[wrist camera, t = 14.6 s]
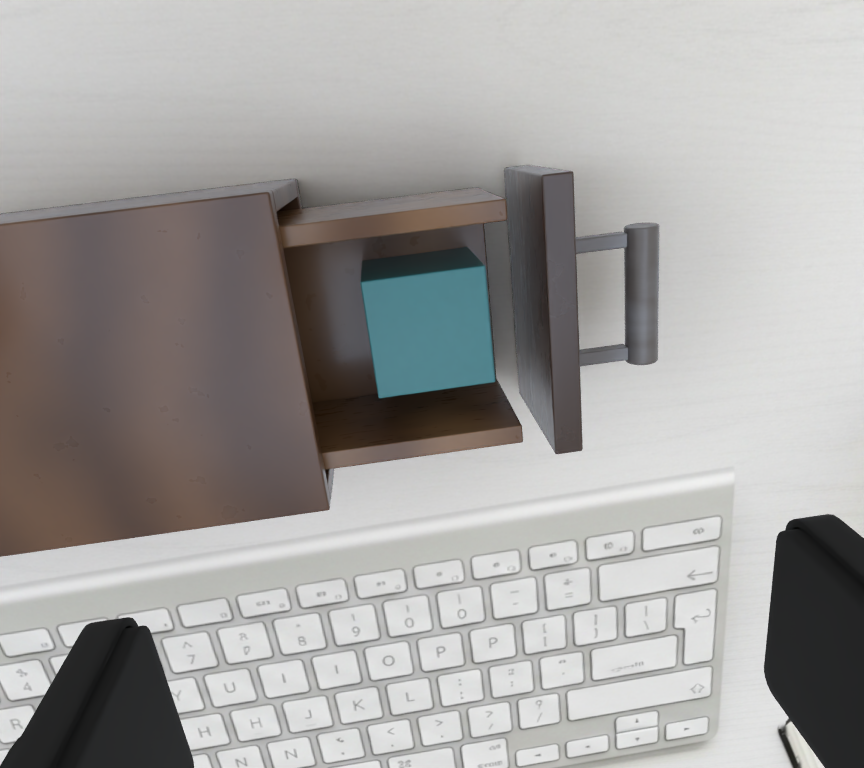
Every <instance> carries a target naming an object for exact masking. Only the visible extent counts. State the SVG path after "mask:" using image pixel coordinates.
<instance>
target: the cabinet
mask: <svg viewBox="0 0 864 768" xmlns="http://www.w3.org/2000/svg"><path fill="white" fill-rule="evenodd" d="M295 209H302V204H301V199H300V193H299V187H298V182H297V179H286V180H278V181H270V182H261V183H253V184H244V185H236V186H228V187H219V188H211V189H203V190H194V191H186V192H178V193H169V194H161V195H153V196H144V197H136V198H128V199H119V200H111V201H103V202H94V203H86V204H77V205H69V206H61V207H52V208H44V209H36V210H27V211H19V212H11V213H2V214H0V557H1V556H8V555H16V554H23V553H30V552H37V551H44V550H51V549H58V548H65V547H72V546H79V545H86V544H93V543H100V542H107V541H114V540H121V539H128V538H135V537H142V536H149V535H156V534H163V533H170V532H177V531H185V530H192V529H199V528H206V527H213V526H220V525H227V524H234V523H241V522H248V521H255V520H262V519H269V518H276V517H283V516H290V515H297V514H304V513H311V512H318V511H325V510H329V508H330V501H331V493H332V484H333V475H334V468H333V469H326V470H325V468H324V463H323V457H322V452H321V447H320V441H319V436H318V431H317V425H316V420H315V415H314V410H313V404H312V399H311V394H310V388H309V383H308V378H307V372H306V367H305V362H304V357H303V351H302V346H301V341H300V335H299V330H298V325H297V319H296V314H295V309H294V303H293V298H292V293H291V288H290V282H289V277H288V272H287V266H286V261H285V256H284V250H283V245H282V240H281V235H280V229H279V224H278V219H277V213H276V212H278V211H287V210H295Z"/></svg>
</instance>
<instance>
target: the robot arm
mask: <svg viewBox="0 0 864 768" xmlns="http://www.w3.org/2000/svg"><path fill="white" fill-rule="evenodd" d="M764 673H765V678H766V681H767V685H768V687H769V689H770V691H771V693H772V694H773V696H774V697H775V699H776V700H777V702H778V703H779V704H780V706H781V707H782V709H783V710H784V711H785V713H786V714H787V716H788V717H789V718H790V720H791V721H792V722H793V724H794V725H795V727H796V728H797V729H798V731H799V732H800V734H801V735H802V736H803V738H804V739H805V741H806V742H807V743H808V745H809V746H810V748H811V749H812V750H813V752H814V753H815V755H816V756H817V757H818V759H819V760H820V761H821V763H822V764H823V766H824V767H825V768H864V538H863V537H861V536H860V535H859V534H858V533H856V532H855V531H854V530H853V529H852V528H850V527H849V526H848V525H847V524H845V523H844V522H843V521H842V520H841V519H839V518H838V517H836V516H834V515H829V514H827V515H820V516H813V517H806V518H799V519H793V520H791V521H789V523H788V524H787V526H786V530H785V531H782V532H780V533H779V534H778V536H777V540H776V550H775V561H774V571H773V581H772V591H771V602H770V612H769V622H768V633H767V643H766V653H765V663H764ZM0 768H194V762H193V758H192V754H191V751H190V748H189V745H188V742H187V739H186V736H185V733H184V730H183V727H182V724H181V721H180V718H179V715H178V712H177V709H176V706H175V704H174V701H173V698H172V695H171V692H170V689H169V686H168V683H167V680H166V677H165V674H164V671H163V668H162V665H161V662H160V659H159V656H158V653H157V650H156V647H155V644H154V641H153V638H152V635H151V632H150V630H149V628H148V627H147V626H138V625H137V623H136V621H135V620H134V619H133V618H129V617H128V618H121V619H114V620H107V621H100V622H94V623H90V624H88V625H86V626H85V628H84V629H83V630H82V632H81V633H80V635H79V637H78V639H77V640H76V642H75V644H74V645H73V647H72V649H71V651H70V652H69V654H68V656H67V658H66V659H65V661H64V663H63V665H62V666H61V668H60V670H59V672H58V673H57V675H56V677H55V678H54V680H53V682H52V684H51V685H50V687H49V689H48V691H47V692H46V694H45V696H44V698H43V699H42V701H41V703H40V704H39V706H38V708H37V710H36V711H35V713H34V715H33V717H32V718H31V720H30V722H29V724H28V725H27V727H26V729H25V731H24V732H23V734H22V736H21V737H20V738H18V739H17V741H16V742H15V743H14V745H13V746H12V748H11V749H10V750H9V752H8V754H7V755H6V757H5V759H4V761H3V762H2V764H1V766H0Z"/></svg>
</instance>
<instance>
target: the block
mask: <svg viewBox="0 0 864 768" xmlns="http://www.w3.org/2000/svg"><path fill="white" fill-rule="evenodd" d="M360 284H361V291H362V297H363V303H364V310H365V316H366V323H367V329H368V335H369V342H370V348H371V355H372V361H373V367H374V374H375V380H376V387H377V393H378V398H386V397H393V396H400V395H408V394H415V393H422V392H429V391H436V390H443V389H450V388H457V387H465V386H472V385H479V384H486V383H493V382H495V381H496V380H495V369H494V357H493V346H492V335H491V323H490V312H489V300H488V289H487V277H486V267H485V265H484V264H483V263H482V262H481V261H480V260H479V259H478V258H477V256H476V255H475V254H474V253H473V252H472V251H471V250H470V249H469V248H468V247H463V248H456V249H448V250H440V251H433V252H425V253H418V254H410V255H402V256H395V257H387V258H380V259H372V260H364V261H362V268H361V282H360Z"/></svg>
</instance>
